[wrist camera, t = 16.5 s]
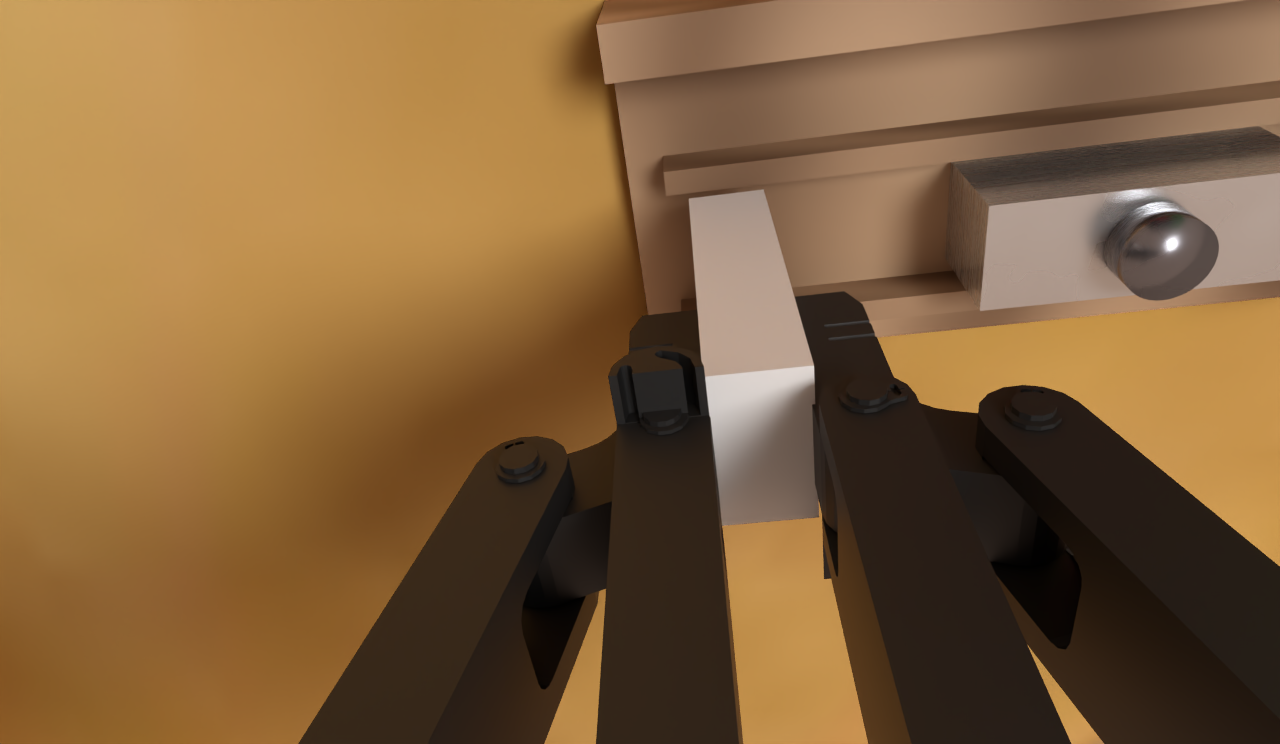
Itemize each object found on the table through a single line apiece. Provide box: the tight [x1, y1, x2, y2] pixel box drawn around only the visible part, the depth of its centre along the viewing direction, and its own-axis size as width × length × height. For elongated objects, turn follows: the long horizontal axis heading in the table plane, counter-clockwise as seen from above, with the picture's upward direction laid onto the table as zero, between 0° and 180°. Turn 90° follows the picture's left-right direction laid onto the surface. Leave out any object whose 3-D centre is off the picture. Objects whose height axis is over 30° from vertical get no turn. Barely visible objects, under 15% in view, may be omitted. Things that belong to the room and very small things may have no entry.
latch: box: [945, 126, 1280, 311], centre depth 17 cm, size 6×2×3 cm, turn 98°
